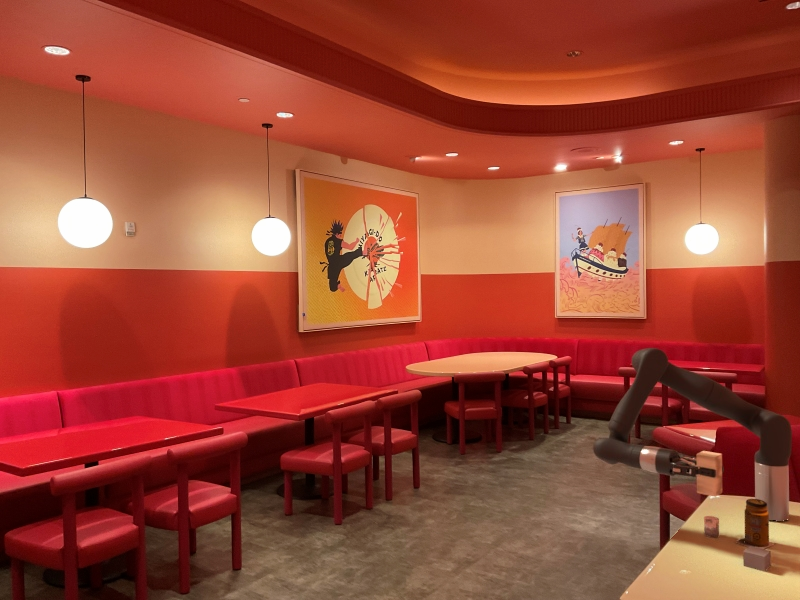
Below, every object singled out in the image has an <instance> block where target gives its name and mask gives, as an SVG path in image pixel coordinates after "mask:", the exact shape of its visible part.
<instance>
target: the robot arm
mask: <svg viewBox="0 0 800 600" xmlns="http://www.w3.org/2000/svg"><path fill="white" fill-rule="evenodd" d="M631 366H632V368H633V370H634V371H635V372H636V375H635V377H634V379H633V382H632V383H631V386H629V389H627V392H625V394H624V395H623V397H622V398H621V399H620V401H619V402H618V404H617V405H616V407H615V409H614V411H613V413H612V415H611V418H610V420H609V422H608V424H607V429H608V430H609V435H608V437H601V438H598V439H596V440H595V441H594V443H593V446H592V451H593V454H594V455H595V456H596V458H598V459H599V460H601V461H603V462H605V463H607V464H609V465H617V464H618V463H619V464H623V465H626V466H628V467H630V468H634V469H639V470H644V471H648V472H651V473H656V474H660V475H666V476H671V477H675V476H676V475H679V476H687V477H692V478H695V477H696V478H697V476H701V475H702V476H708V477H713V478H714V477H716V470H715V469H710V468H705V467H700V466H697V456H694V455H692V456H690V457H689V456H683V457H680V453H679V452H678V451H677V450H675V449H671V448H664V447H659V446H648V445H643V444H636V443H628V442H629V438H630V434H631V432H632V430H633V428H634V427H635V425H636V421H637V419H638V417H639V415H640V413H641V411H642V409H643V407H644V405H645V403H646V402H647V399H648V398H649V396H650V394H651V393H652V391H653V390H654V388H655V387H656V386H657V384H658V383H660V384H662V385H664V386H665V387H668V388H669V389H672V390H673V391H674V392H676V393H677V394H679V395H680V396H683V397H684V398H685V399H688V400H689V401H691V402H692V403H695V405H698V406H699V407H702V408H703V409H706V410H707V411H709V412H712V413H714V414H717V415H718V416H722V417H724V418H727V419H730V420H732V421H734V422H736V423H737V424H739V425H741V426H742V427H744V428H745V429H747V430H748V431H750V432H751V433H752V434H754V435H755V436H756V437H758V438H759V440H760V441H759V449H758V450H757V451H755V453H754V492H755V493H754V499H759V500H763V501H765V502H766V503H767V511H768V513H769V520H777V521H783V520H787V519H789V520H790V489H789V488H790V486H789V483H790V479H789V460H790V458H791V456H792V441H793V440H792V436H793V435H792V434H793V432H792V425H791V423H790V421H789V420H788V418H786V417H785V416H784V415H782V414H779V413H777V412H774V411H771V410H768V409H766V408H762V407H759V406H757V405H755V404H752V403H750V402H748V401H746V400H744V399H743V398H741V397H740V396H739V395H737V394H736V393H735V392H734V391H732V390H731V389H730V388H728V387H726V386H725V385H723V384H721V383H720V382H717V381H715V380H713V379H712V378H710V377H708V376H706V375H703V374H700V373H697V372H694V371H692V370H688V369H684V368H681V367H679V366H677V365H675V364H674V363H671V362H670V361H669V358H668V355H667V353H665V352H664V350H662V349H661V348H660V349H659V348H656V347H648V348H642V349H639V350H637V351H636V352H635V353H634V354H633V355H632V357H631ZM724 471H725V469H724V465H723V464H722V474H723V473H724ZM777 521H776V522H777ZM783 522H784V521H783Z"/></svg>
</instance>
